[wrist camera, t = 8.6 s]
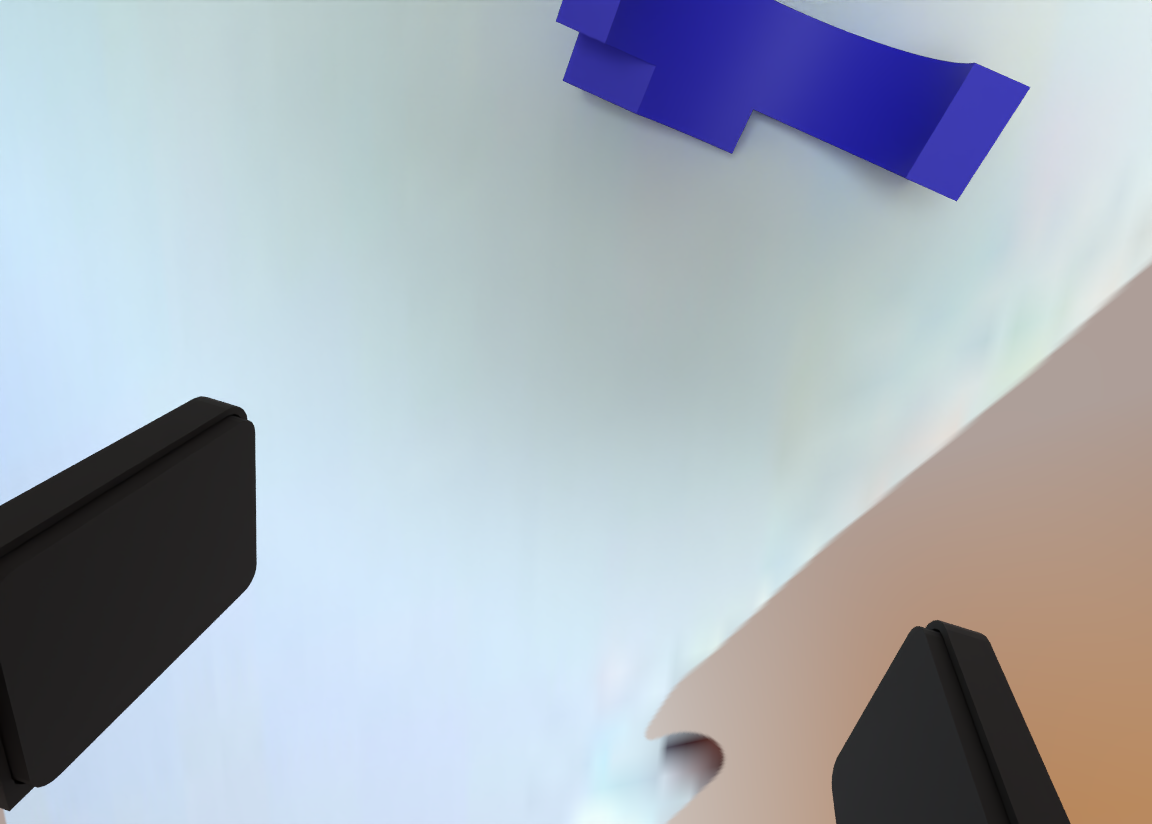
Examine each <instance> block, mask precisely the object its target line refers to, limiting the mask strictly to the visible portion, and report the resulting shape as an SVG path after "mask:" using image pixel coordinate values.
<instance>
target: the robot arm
mask: <svg viewBox="0 0 1152 824" xmlns="http://www.w3.org/2000/svg"><path fill="white" fill-rule="evenodd" d="M256 565H257V561H256V468H255V428H254V425H253V423H252V422H250V421H249V420H247V415H246V413H245V411H244V410H243V409H242V408H240V407H238V406H234V405H231V404H228V403H225V402H221V401H218V400H215V399H211V398H208V397H202V396H200V397H197V398H194V399H192V400H190V401H189V402H187V403H185V404H183V405H181V406H180V407H178V408H176V409H174V410H172V411H171V412H169V413H167V414H165V415H163V416H161V417H160V418H158V419H156V420H154V421H152V422H151V423H149V424H147V425H145V426H143V427H142V428H140V429H138V430H136V431H134V432H133V433H131V434H129V435H127V436H125V437H124V438H122V439H120V440H118V441H116V442H114V443H113V444H111V445H109V446H107V447H105V448H104V449H102V450H100V451H98V452H96V453H95V454H93V455H91V456H89V457H87V458H86V459H84V460H82V461H80V462H78V463H77V464H75V465H73V466H71V467H69V468H67V469H66V470H64V471H62V472H60V473H58V474H57V475H55V476H53V477H51V478H49V479H48V480H46V481H44V482H42V483H40V484H39V485H37V486H35V487H33V488H31V489H30V490H28V491H26V492H24V493H22V494H21V495H19V496H17V497H15V498H13V499H11V500H10V501H8V502H6V503H4V504H2V505H1V506H0V808H2V809H5V810H7V811H10V810H11V809H12V808H13V807H14V806H15V805H16V804H17V803H18V802H19V801H20V800H21V799H22V798H23V797H25V796H26V795H27V794H28V793H29V792H30V791H31V790H32V789H33V788H34V787H42V786H45V785H47V784H49V783H50V782H52V781H53V780H54V779H56V778H57V777H58V776H59V775H60V774H61V773H62V772H63V771H64V770H65V769H66V768H67V767H68V766H69V765H70V764H71V763H72V762H73V761H74V760H75V759H76V758H77V757H78V756H79V755H80V754H81V753H82V752H83V751H84V750H85V749H86V748H87V747H88V746H89V745H90V744H91V743H92V742H93V741H94V740H95V739H96V738H97V737H98V736H99V735H100V734H101V733H102V732H103V731H104V730H105V729H106V728H107V727H108V726H109V725H110V724H111V723H112V722H113V721H114V720H115V719H116V718H117V717H118V716H119V715H120V714H122V713H123V712H124V711H125V710H126V709H127V708H128V707H129V706H130V705H131V704H132V703H133V702H134V701H135V700H136V699H137V698H138V697H139V696H140V695H141V694H142V693H143V692H144V691H145V690H146V689H147V688H148V687H149V686H150V685H151V684H152V683H153V682H154V681H155V680H156V679H157V678H158V677H159V676H160V675H161V674H162V673H163V672H164V671H165V670H166V669H167V668H168V667H169V666H170V665H171V664H172V663H173V662H174V661H175V660H176V659H177V658H178V657H179V656H180V655H181V654H182V653H183V652H184V651H185V650H186V649H187V648H188V647H189V646H190V645H191V644H192V643H193V642H194V641H195V640H196V639H197V638H198V637H199V636H200V635H201V634H202V633H203V632H204V631H205V630H206V629H207V628H208V627H209V626H210V625H211V624H212V623H213V622H214V621H215V620H216V619H217V618H218V617H219V616H220V615H221V614H222V613H223V612H224V611H225V610H226V609H227V608H228V607H229V606H230V605H231V604H232V603H233V602H234V601H235V600H236V599H237V598H238V597H239V596H240V595H241V594H242V593H243V592H244V591H245V590H246V589H247V588H248V586H249V585H250V583H251V581H252V579H253V577H254V575H255V571H256ZM832 793H833V801H834V809H835V817H836V824H1070V821H1069V819H1068V817H1067V815H1066V813H1065V810H1064V809H1063V806H1062V803H1061V801H1060V799H1059V797H1058V795H1057V792H1056V790H1055V788H1054V786H1053V783H1052V781H1051V779H1050V776H1049V775H1048V772H1047V770H1046V767H1045V765H1044V763H1043V761H1042V758H1041V756H1040V754H1039V752H1038V750H1037V747H1036V745H1035V743H1034V741H1033V738H1032V736H1031V734H1030V732H1029V729H1028V727H1027V725H1026V723H1025V720H1024V718H1023V716H1022V714H1021V711H1020V709H1019V707H1018V705H1017V703H1016V700H1015V698H1014V696H1013V693H1012V691H1011V689H1010V687H1009V684H1008V682H1007V680H1006V678H1005V675H1004V673H1003V671H1002V669H1001V666H1000V664H999V662H998V660H997V657H996V655H995V653H994V651H993V649H992V646H991V644H990V642H989V640H988V639H987V637H986V636H984V635H983V634H981V633H978V632H975V631H972V630H968V629H965V628H962V627H959V626H956V625H952V624H949V623H946V622H942V621H939V620H935V621H932V622H931V623H929V624H928V625H927V627H926V628H923V627H920V626H916V627H915V628H913V629H912V630H911V631H910V633H909V634H908V636H907V638H906V639H905V641H904V643H903V645H902V646H901V648H900V650H899V651H898V653H897V655H896V657H895V658H894V660H893V662H892V664H891V665H890V667H889V669H888V671H887V672H886V674H885V676H884V678H883V679H882V681H881V683H880V684H879V686H878V688H877V690H876V691H875V693H874V695H873V696H872V698H871V700H870V702H869V703H868V705H867V707H866V709H865V710H864V712H863V714H862V715H861V717H860V719H859V721H858V722H857V724H856V726H855V728H854V729H853V731H852V733H851V735H850V736H849V738H848V740H847V742H846V743H845V745H844V747H843V749H842V750H841V752H840V754H839V755H838V757H837V759H836V762H835V765H834V768H833V774H832Z"/></svg>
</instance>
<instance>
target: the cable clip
mask: <svg viewBox="0 0 1152 824" xmlns="http://www.w3.org/2000/svg"><path fill="white" fill-rule="evenodd" d="M556 22H558V23H561V24H563V25H565V26H567V27H570V28H572V29H574V30H576V31H578V32H579V35H578V38H577V41H576V44H575V46H574V49H573V52H572V55H571V58H570V61H569V64H568V67H567V70H566V73H565V75H564V78H563V81H565V82H567V83H569V84H571V85H573V86H576V87H578V88H580V89H582V90H584V91H587V92H589V93H591V94H593V95H596V96H598V97H600V98H602V99H604V100H607V101H609V102H611V103H613V104H615V105H618V106H620V107H622V108H624V109H626V110H629V111H631V112H633V113H635V114H638V115H640V116H643V117H646V118H648V119H651V120H653V121H656V122H658V123H661V124H664V125H666V126H668V127H671V128H673V129H676V130H678V131H681V132H683V133H685V134H688V135H690V136H693V137H695V138H697V139H700V140H702V141H704V142H706V143H709V144H711V145H713V146H716V147H718V148H720V149H722V150H725V151H727V152H729V153H731V154H732V153H733V151H734V148H735V146H736V144H737V142H738V140H739V138H740V136H741V134H742V132H743V129H744V127H745V125H746V123H747V121H748V119H749V117H750V115H751V113H752V111H753V109H754V110H756V111H758V112H760V113H762V114H765V115H767V116H769V117H771V118H774V119H776V120H778V121H780V122H782V123H785V124H787V125H789V126H791V127H794V128H796V129H798V130H800V131H802V132H805V133H807V134H809V135H811V136H814V137H816V138H818V139H820V140H822V141H825V142H827V143H829V144H831V145H834V146H836V147H838V148H840V149H842V150H845V151H847V152H849V153H851V154H853V155H856V156H858V157H860V158H862V159H864V160H867V161H869V162H871V163H873V164H875V165H878V166H880V167H882V168H884V169H886V170H889V171H891V172H893V173H895V174H897V175H900V176H902V177H904V178H906V179H908V180H911V181H913V182H915V183H917V184H919V185H922V186H924V187H926V188H928V189H931V190H933V191H935V192H937V193H939V194H942V195H944V196H946V197H948V198H951V199H953V200H955V201H957V200H958V198H959V197H960V195H961V194H962V192H963V191H964V189H965V188H966V186H967V185H968V183H969V181H970V180H971V178H972V177H973V175H974V174H975V172H976V171H977V169H978V168H979V166H980V164H981V163H982V161H983V160H984V158H985V157H986V155H987V154H988V152H989V150H990V149H991V147H992V146H993V144H994V143H995V141H996V140H997V138H998V137H999V135H1000V133H1001V132H1002V130H1003V129H1004V127H1005V126H1006V124H1007V123H1008V121H1009V120H1010V118H1011V116H1012V115H1013V113H1014V112H1015V110H1016V109H1017V107H1018V106H1019V104H1020V103H1021V101H1022V99H1023V98H1024V96H1025V95H1026V93H1027V92H1028V90H1029V89H1030V87H1029V86H1026V85H1024V84H1022V83H1020V82H1017V81H1015V80H1013V79H1010V78H1008V77H1006V76H1004V75H1001V74H999V73H997V72H995V71H992V70H990V69H988V68H985V67H983V66H981V65H979V64H976V63H954V62H947V61H941V60H937V59H932V58H928V57H924V56H920V55H916V54H912V53H909V52H905V51H902V50H899V49H895V48H892V47H889V46H886V45H883V44H880V43H877V42H874V41H871V40H868V39H866V38H863V37H860V36H857V35H855V34H852V33H849V32H847V31H844V30H842V29H839V28H837V27H834V26H832V25H829V24H827V23H824V22H822V21H819V20H817V19H815V18H812V17H810V16H808V15H805V14H803V13H801V12H798V11H796V10H794V9H792V8H789V7H787V6H785V5H783V4H781V3H779V2H777V1H774V0H563V1H562V4H561V7H560V10H559V13H558V16H557V20H556Z"/></svg>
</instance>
